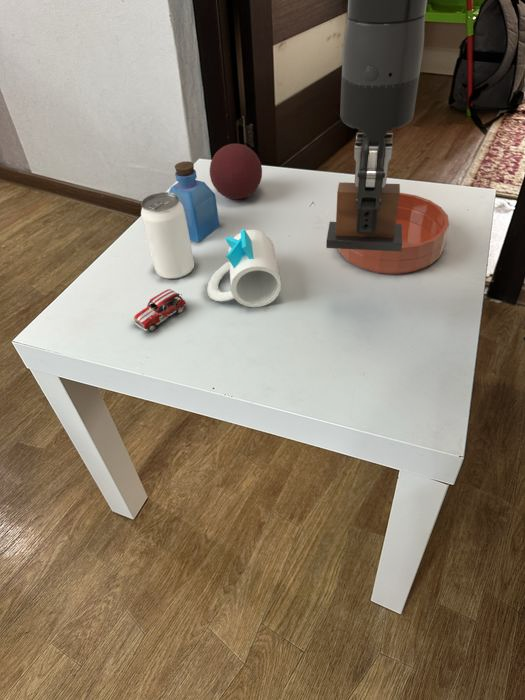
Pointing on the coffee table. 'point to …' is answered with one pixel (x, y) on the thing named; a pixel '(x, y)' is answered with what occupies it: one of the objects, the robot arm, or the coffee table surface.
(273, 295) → the mug
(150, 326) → the toy car
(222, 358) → the coffee table surface
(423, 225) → the bowl
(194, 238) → the perfume bottle
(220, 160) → the decorative ball
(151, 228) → the can
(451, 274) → the coffee table surface
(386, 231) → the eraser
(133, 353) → the coffee table surface
